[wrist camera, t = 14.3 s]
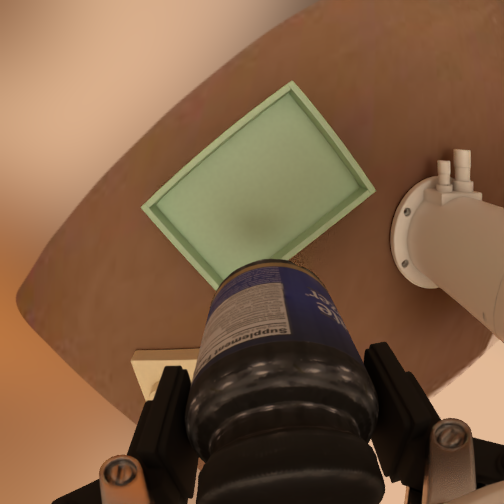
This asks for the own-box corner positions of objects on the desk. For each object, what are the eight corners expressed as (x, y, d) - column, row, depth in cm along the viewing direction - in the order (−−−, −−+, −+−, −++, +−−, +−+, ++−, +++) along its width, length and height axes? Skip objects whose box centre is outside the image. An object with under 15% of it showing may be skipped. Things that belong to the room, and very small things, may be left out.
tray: (230, 292, 32) (229, 305, 30) (149, 202, 30) (140, 207, 27) (365, 187, 29) (376, 190, 27) (288, 86, 26) (292, 79, 24)
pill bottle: (344, 331, 16) (421, 507, 6) (245, 374, 17) (242, 556, 7) (300, 232, 15) (395, 405, 4) (187, 287, 16) (112, 481, 5)
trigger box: (135, 349, 35) (125, 369, 31) (208, 347, 35) (204, 369, 31) (160, 417, 38) (154, 438, 35) (224, 417, 38) (222, 439, 34)
